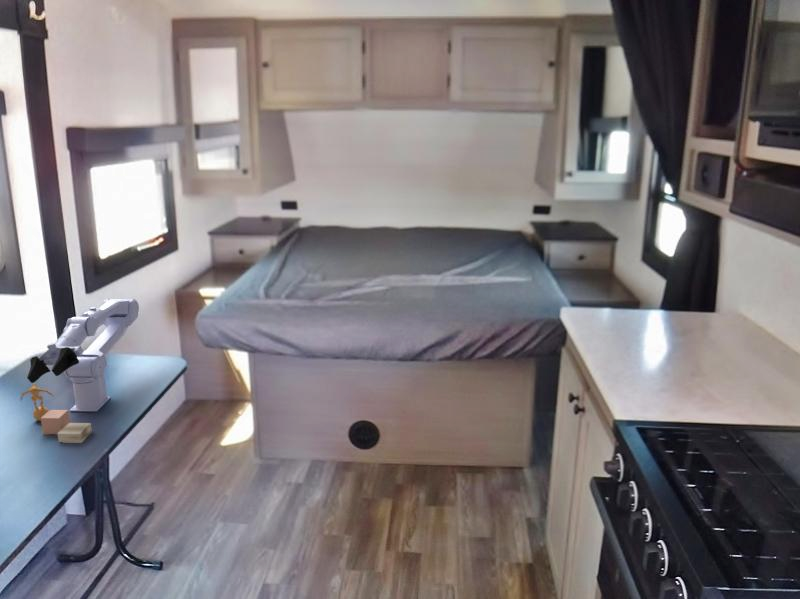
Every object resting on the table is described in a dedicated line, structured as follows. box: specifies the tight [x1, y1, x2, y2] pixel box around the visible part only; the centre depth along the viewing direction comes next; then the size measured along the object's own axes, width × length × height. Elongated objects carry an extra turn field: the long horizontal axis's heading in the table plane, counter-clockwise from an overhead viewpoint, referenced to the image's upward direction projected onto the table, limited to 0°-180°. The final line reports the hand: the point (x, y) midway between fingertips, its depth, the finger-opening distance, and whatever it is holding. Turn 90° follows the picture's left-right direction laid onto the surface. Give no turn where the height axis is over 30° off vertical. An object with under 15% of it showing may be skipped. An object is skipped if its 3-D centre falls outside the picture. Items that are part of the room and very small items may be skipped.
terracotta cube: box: [40, 409, 71, 435], centre depth 173 cm, size 5×5×5 cm
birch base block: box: [57, 422, 93, 444], centre depth 170 cm, size 6×6×3 cm
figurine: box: [19, 382, 54, 422], centre depth 177 cm, size 8×6×12 cm
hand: (42, 376), depth 164 cm, fingers open, 7 cm apart
